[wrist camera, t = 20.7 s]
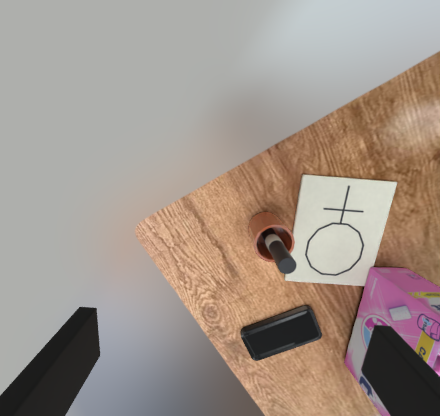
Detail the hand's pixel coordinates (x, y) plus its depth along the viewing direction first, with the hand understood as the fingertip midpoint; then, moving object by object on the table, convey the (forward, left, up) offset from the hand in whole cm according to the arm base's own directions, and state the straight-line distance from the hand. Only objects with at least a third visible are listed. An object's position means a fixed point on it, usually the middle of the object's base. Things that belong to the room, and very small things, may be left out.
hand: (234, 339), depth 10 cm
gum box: (+21, +32, -28) cm, 48 cm away
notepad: (+4, +21, -29) cm, 36 cm away
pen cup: (+4, +8, -29) cm, 30 cm away
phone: (+26, +14, -29) cm, 41 cm away
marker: (+4, +8, -28) cm, 29 cm away
